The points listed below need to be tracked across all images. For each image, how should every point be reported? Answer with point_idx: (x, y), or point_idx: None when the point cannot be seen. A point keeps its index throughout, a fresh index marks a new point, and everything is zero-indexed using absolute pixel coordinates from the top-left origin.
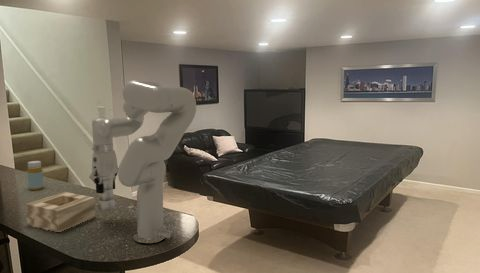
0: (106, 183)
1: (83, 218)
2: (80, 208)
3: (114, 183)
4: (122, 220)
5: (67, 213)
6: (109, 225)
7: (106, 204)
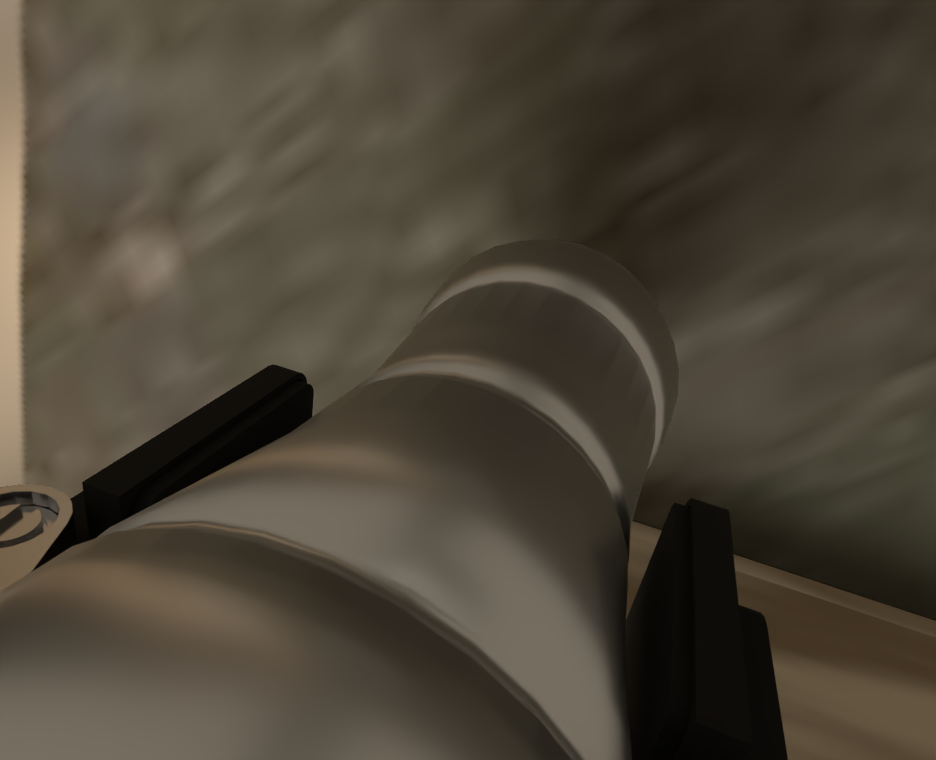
0: (569, 601)
1: (651, 553)
2: None
3: (199, 429)
4: (512, 137)
5: (917, 749)
6: (693, 213)
7: (656, 333)
